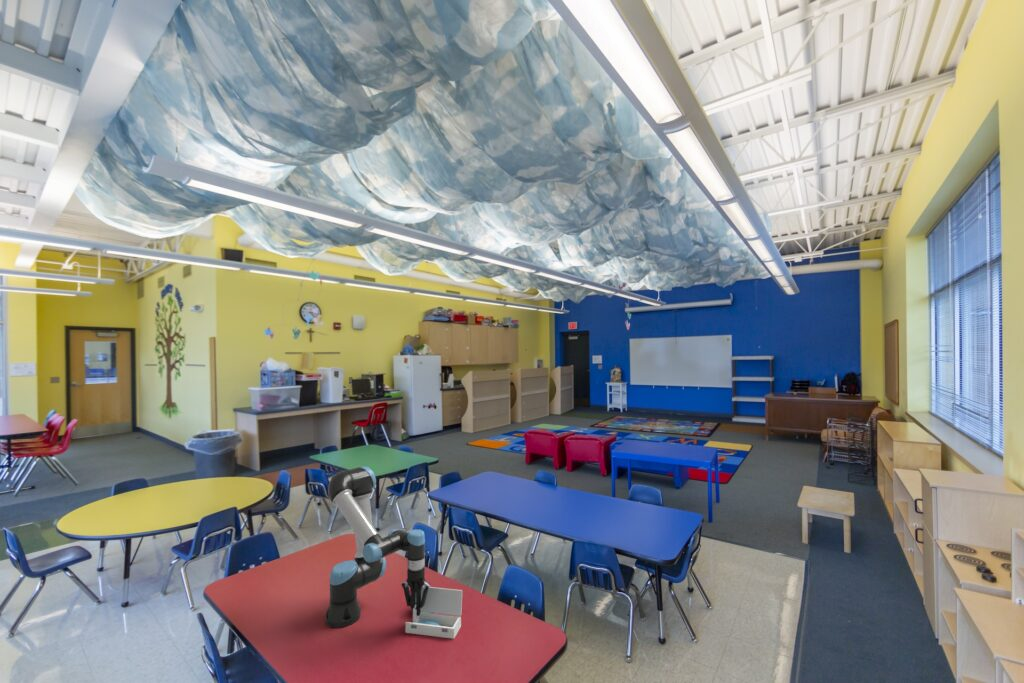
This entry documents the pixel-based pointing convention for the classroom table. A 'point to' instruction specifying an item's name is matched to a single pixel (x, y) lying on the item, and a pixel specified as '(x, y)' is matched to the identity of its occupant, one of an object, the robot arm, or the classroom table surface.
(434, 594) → the cover
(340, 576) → the robot arm
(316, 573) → the classroom table surface
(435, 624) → the blue pill shape
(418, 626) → the white latched case
